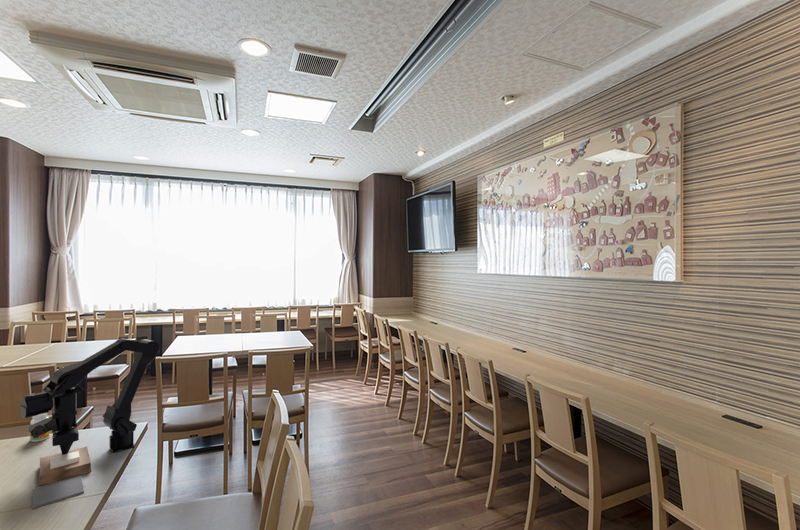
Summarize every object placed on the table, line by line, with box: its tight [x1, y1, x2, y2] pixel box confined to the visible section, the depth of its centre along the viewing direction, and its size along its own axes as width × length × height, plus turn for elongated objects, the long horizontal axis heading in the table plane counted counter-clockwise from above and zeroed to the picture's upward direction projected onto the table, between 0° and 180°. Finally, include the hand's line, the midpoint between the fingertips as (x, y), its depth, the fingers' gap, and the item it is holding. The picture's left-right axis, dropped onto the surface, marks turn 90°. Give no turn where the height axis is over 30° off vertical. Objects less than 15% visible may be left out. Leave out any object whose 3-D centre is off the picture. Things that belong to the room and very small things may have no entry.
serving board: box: [39, 446, 92, 487], centre depth 124 cm, size 12×14×3 cm
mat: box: [31, 474, 85, 510], centre depth 113 cm, size 11×11×1 cm
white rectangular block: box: [50, 451, 80, 469], centre depth 123 cm, size 7×5×2 cm
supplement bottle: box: [29, 413, 51, 443], centre depth 144 cm, size 5×5×10 cm
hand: (64, 455), depth 126 cm, fingers closed
